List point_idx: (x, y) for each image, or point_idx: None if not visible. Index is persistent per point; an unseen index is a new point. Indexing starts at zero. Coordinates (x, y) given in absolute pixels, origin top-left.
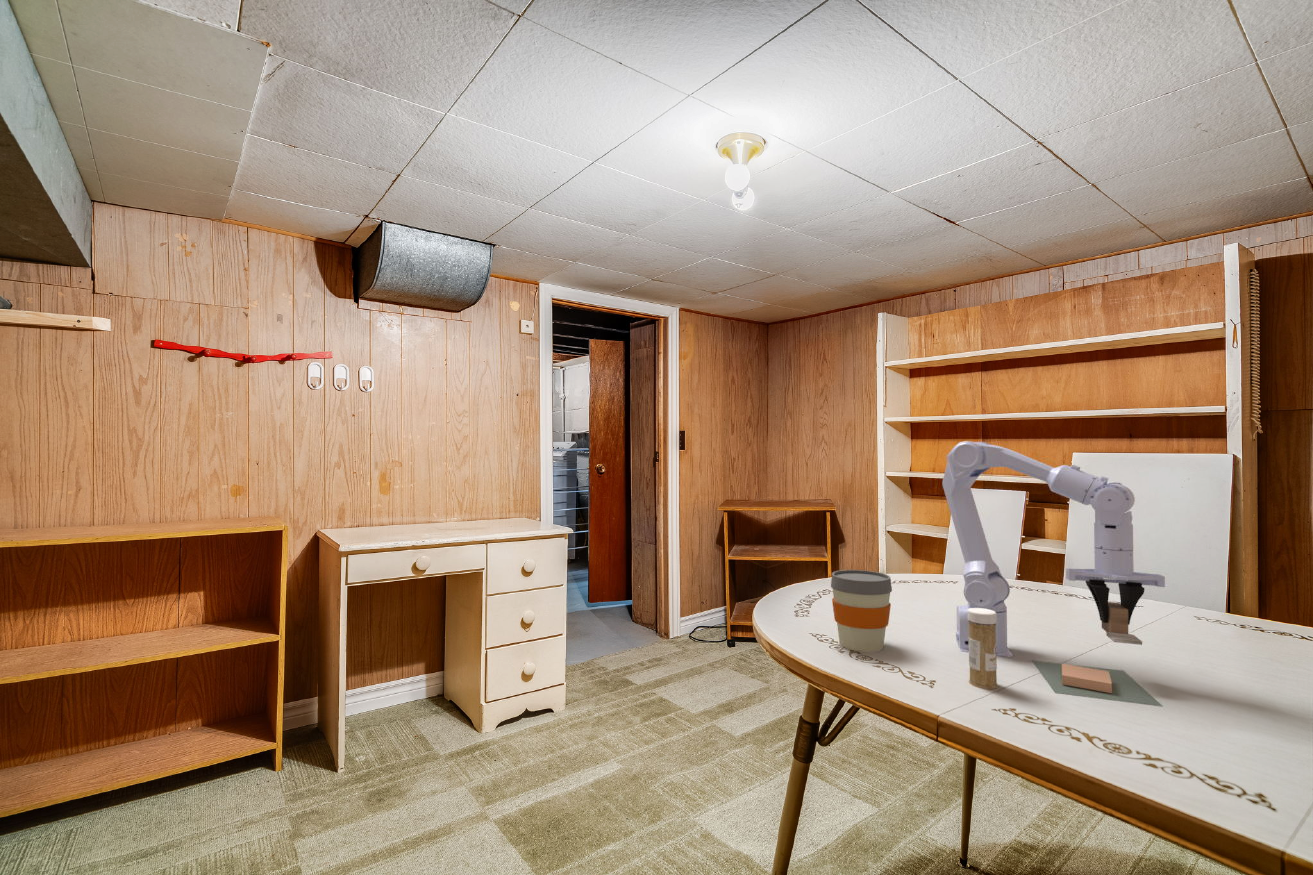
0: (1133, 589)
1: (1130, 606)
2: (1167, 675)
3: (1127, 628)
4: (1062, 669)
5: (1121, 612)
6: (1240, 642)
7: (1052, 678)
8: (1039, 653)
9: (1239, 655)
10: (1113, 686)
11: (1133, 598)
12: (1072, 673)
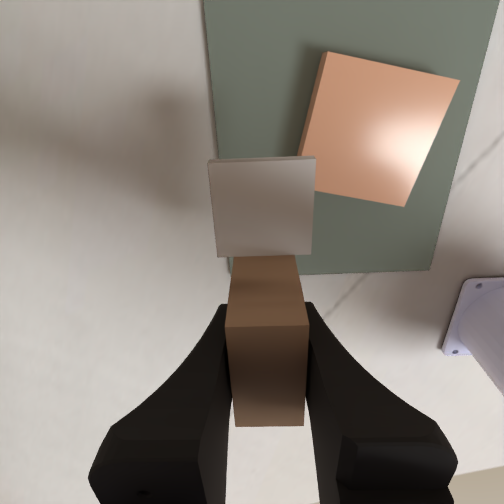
0: (171, 445)
1: (205, 358)
2: (143, 291)
3: (235, 269)
4: (428, 147)
5: (257, 312)
6: (11, 486)
7: (441, 138)
8: (376, 334)
9: (13, 435)
10: (292, 138)
11: (183, 393)
12: (414, 115)
